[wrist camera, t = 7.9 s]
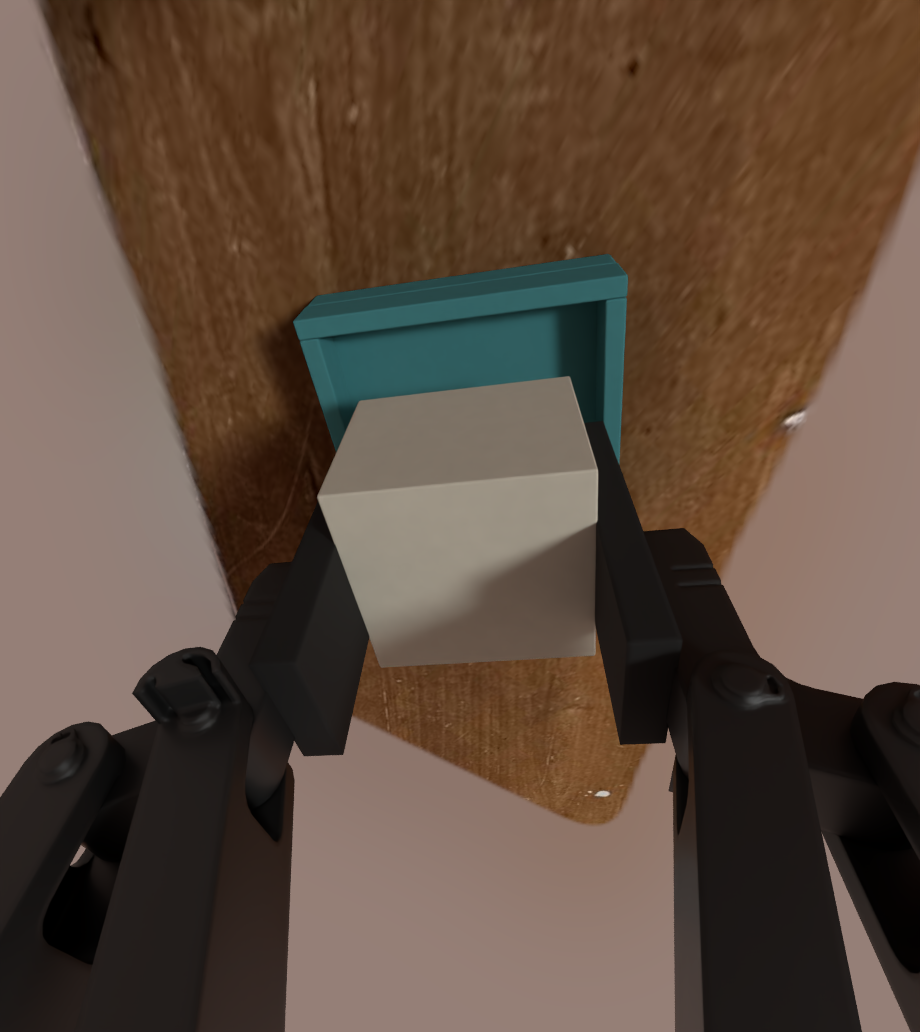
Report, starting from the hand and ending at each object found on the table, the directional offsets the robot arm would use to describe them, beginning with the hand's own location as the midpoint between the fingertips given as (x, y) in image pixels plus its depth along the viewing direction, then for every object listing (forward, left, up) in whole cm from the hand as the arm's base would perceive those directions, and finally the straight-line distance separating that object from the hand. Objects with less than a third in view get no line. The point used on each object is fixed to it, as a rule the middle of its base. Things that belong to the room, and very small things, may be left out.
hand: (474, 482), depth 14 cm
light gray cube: (0, 0, 0) cm, 0 cm away
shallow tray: (0, 0, -4) cm, 4 cm away
